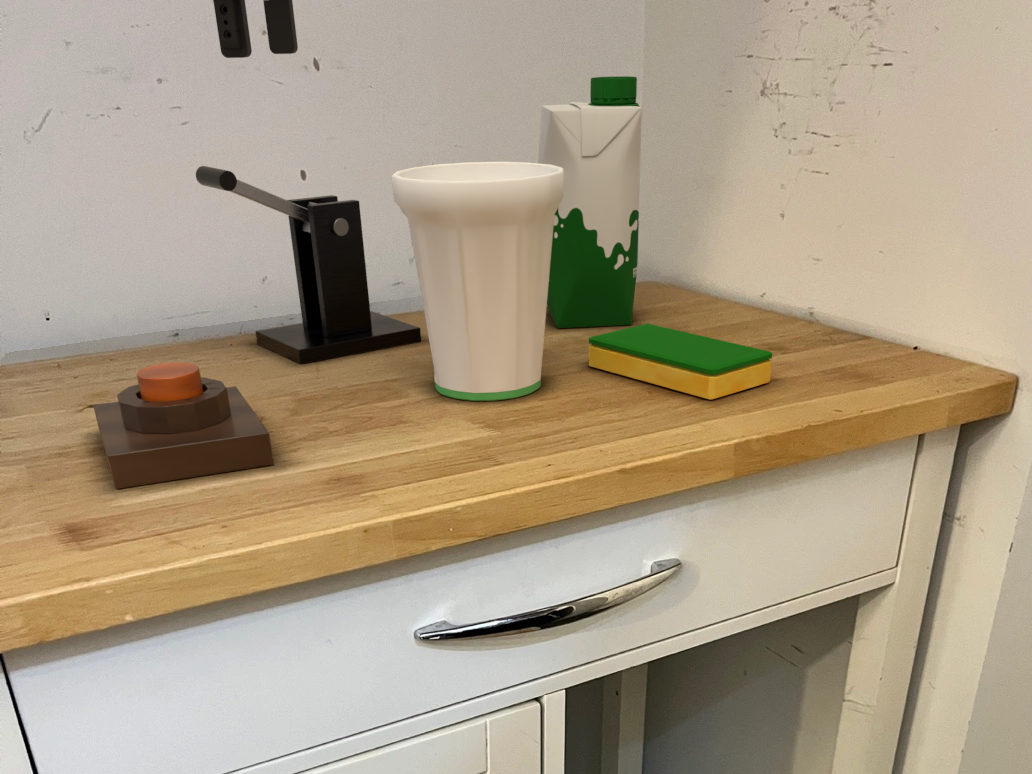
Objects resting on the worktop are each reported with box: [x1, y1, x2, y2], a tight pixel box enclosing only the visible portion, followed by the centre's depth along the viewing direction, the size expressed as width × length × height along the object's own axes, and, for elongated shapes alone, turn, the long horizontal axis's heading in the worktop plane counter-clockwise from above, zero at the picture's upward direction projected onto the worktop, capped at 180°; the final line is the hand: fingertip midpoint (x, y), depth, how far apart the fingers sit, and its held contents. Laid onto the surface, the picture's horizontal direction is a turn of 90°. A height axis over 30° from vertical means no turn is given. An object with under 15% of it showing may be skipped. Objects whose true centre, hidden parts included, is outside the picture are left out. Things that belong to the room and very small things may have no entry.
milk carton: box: [537, 76, 643, 329], centre depth 100 cm, size 9×9×20 cm
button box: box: [93, 376, 275, 490], centre depth 74 cm, size 12×10×4 cm
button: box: [136, 362, 204, 401], centre depth 72 cm, size 4×4×2 cm
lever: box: [195, 165, 317, 234], centre depth 91 cm, size 12×5×2 cm, turn 126°
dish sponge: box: [588, 323, 773, 401], centre depth 87 cm, size 7×14×2 cm, turn 40°
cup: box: [390, 161, 564, 402], centre depth 82 cm, size 12×12×15 cm
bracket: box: [254, 194, 422, 365], centre depth 96 cm, size 12×9×12 cm
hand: (261, 55), depth 86 cm, fingers open, 8 cm apart
